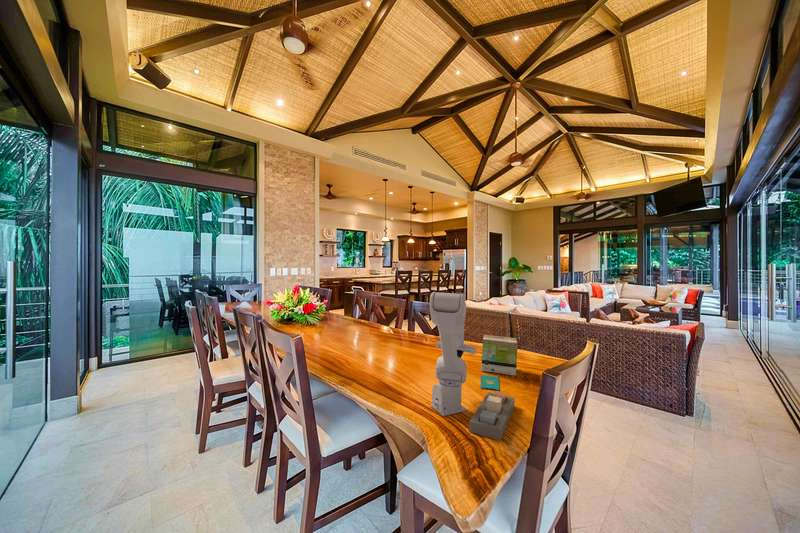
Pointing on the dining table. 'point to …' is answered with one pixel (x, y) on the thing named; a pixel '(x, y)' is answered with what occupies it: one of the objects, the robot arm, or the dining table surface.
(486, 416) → the slate key
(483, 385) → the smartphone
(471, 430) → the key panel
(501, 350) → the tea box
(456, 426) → the dining table surface
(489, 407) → the white key
